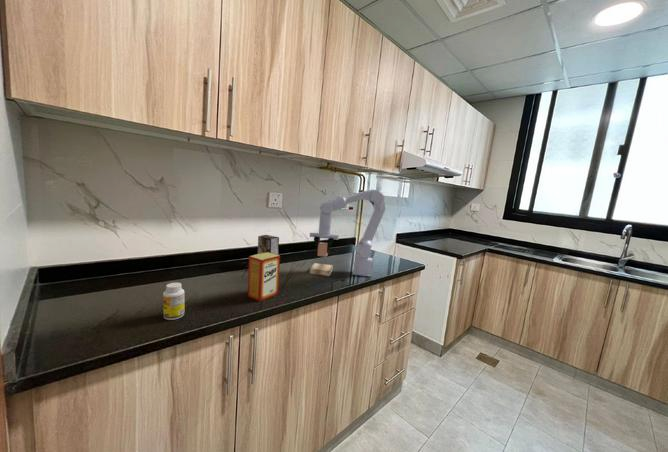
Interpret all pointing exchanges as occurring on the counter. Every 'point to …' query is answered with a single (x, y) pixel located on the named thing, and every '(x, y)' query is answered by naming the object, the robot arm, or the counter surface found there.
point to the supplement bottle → (173, 301)
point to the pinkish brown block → (322, 249)
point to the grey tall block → (268, 244)
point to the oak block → (321, 269)
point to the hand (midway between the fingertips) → (322, 252)
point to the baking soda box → (263, 276)
